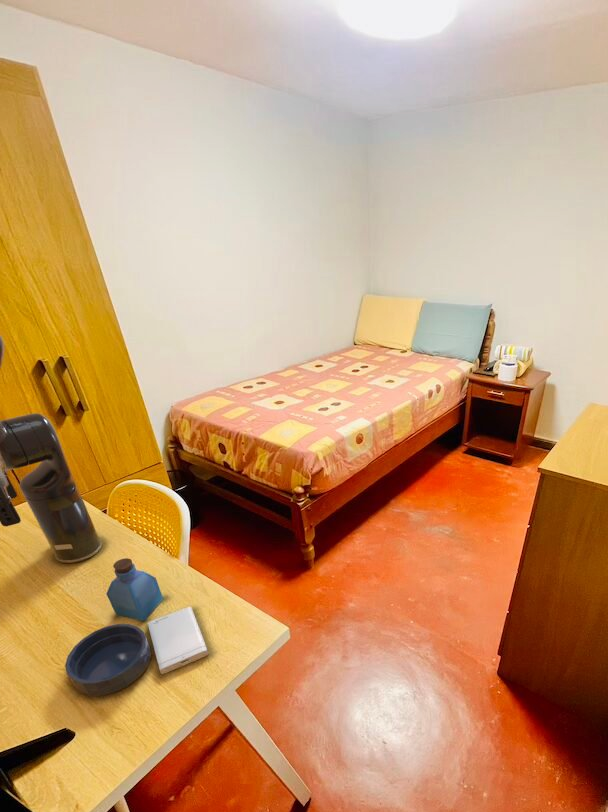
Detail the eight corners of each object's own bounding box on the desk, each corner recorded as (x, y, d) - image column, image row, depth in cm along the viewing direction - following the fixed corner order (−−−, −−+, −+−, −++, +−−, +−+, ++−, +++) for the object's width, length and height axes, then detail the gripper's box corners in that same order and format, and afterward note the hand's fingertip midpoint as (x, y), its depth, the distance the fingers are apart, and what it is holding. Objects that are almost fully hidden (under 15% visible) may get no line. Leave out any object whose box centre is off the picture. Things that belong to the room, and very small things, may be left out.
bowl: (69, 659, 76) (60, 645, 74) (142, 627, 83) (136, 613, 80) (80, 710, 69) (71, 697, 66) (159, 671, 75) (154, 658, 73)
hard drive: (146, 622, 82) (159, 669, 74) (191, 605, 86) (207, 649, 78) (149, 627, 83) (161, 675, 75) (192, 611, 87) (209, 654, 78)
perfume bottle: (144, 621, 84) (125, 577, 77) (116, 615, 85) (96, 571, 78) (163, 599, 89) (147, 556, 82) (137, 593, 90) (119, 550, 83)
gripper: (-7, 423, 54) (45, 524, 63) (-10, 391, 63) (36, 484, 72) (-88, 436, 50) (-20, 542, 59) (-79, 400, 59) (-21, 497, 68)
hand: (11, 510), depth 66 cm, fingers open, 8 cm apart
